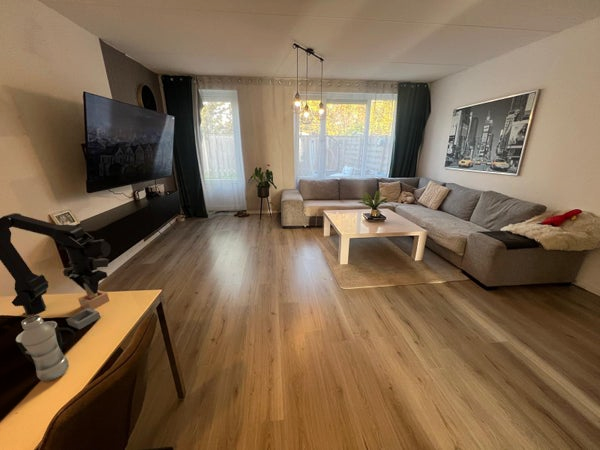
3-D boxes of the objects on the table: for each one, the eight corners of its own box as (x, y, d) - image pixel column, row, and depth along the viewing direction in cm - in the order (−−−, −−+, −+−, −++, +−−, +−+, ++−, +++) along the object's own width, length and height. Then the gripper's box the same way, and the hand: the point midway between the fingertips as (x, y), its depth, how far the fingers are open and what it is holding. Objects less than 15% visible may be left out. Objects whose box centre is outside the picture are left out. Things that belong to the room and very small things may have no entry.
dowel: (89, 305, 101) (81, 284, 98) (97, 300, 103) (90, 280, 100) (93, 306, 100) (86, 286, 96) (101, 302, 102) (94, 282, 99)
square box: (81, 308, 100) (77, 298, 98) (100, 299, 106) (97, 289, 105) (91, 312, 98) (88, 302, 96) (110, 302, 104) (107, 292, 102)
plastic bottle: (53, 366, 74) (29, 312, 68) (77, 364, 74) (54, 310, 68) (33, 386, 68) (4, 329, 61) (59, 383, 68) (32, 327, 62)
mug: (24, 373, 72) (10, 347, 68) (32, 353, 79) (20, 329, 75) (77, 354, 78) (66, 329, 75) (80, 337, 85) (71, 313, 82)
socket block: (69, 326, 90) (66, 319, 89) (90, 315, 96) (87, 307, 95) (80, 331, 88) (77, 323, 86) (101, 319, 94) (98, 311, 93)
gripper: (116, 253, 98) (125, 286, 103) (88, 246, 105) (99, 277, 110) (84, 265, 89) (96, 300, 94) (56, 257, 95) (69, 291, 100)
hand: (91, 291), depth 100 cm, fingers open, 6 cm apart
